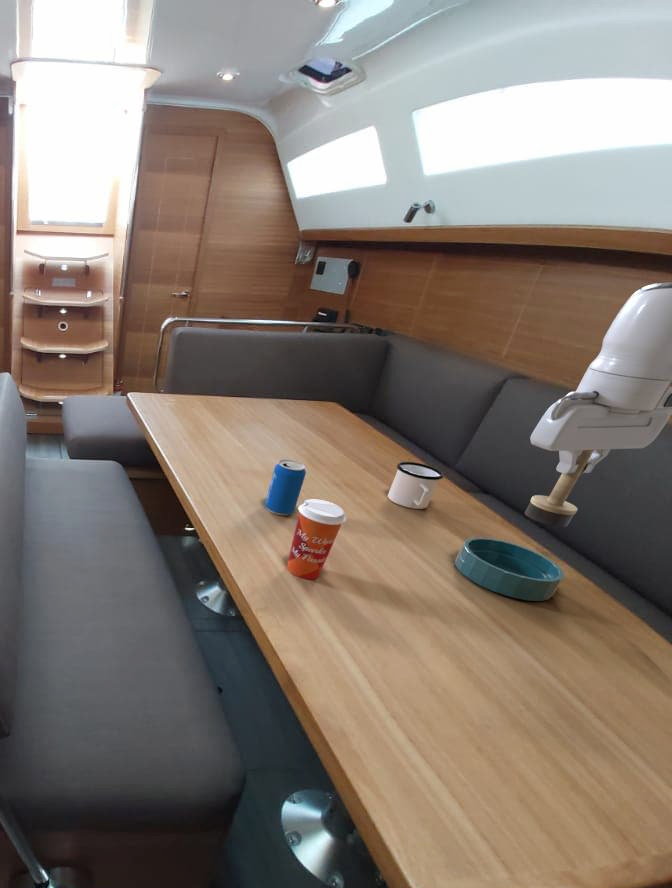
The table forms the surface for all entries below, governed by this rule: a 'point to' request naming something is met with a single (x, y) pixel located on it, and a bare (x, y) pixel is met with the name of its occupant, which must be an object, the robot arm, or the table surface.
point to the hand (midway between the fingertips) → (572, 472)
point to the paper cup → (314, 537)
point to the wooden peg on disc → (558, 498)
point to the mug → (414, 484)
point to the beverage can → (285, 487)
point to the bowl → (509, 569)
